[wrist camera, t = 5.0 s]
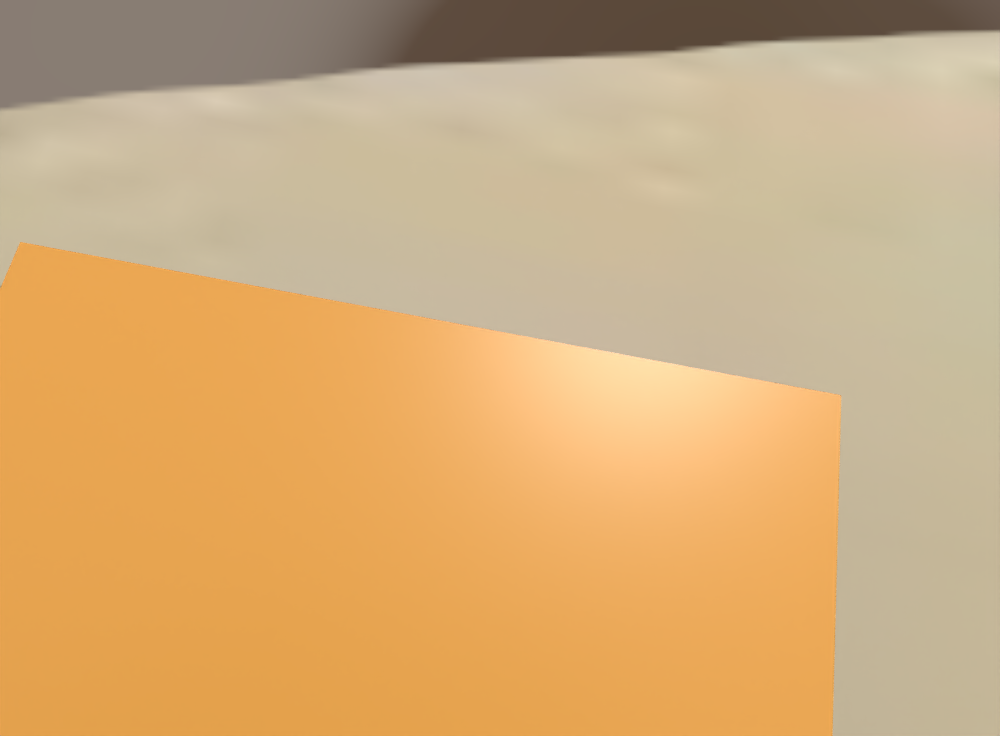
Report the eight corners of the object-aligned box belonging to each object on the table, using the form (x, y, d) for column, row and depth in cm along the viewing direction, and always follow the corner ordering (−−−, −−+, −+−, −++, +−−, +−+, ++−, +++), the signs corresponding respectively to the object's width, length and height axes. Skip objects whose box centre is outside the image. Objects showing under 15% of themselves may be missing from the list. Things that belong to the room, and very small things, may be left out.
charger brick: (515, 791, 14) (807, 1624, 2) (285, 749, 14) (-478, 1393, 2) (550, 555, 15) (839, 396, 4) (341, 516, 15) (19, 242, 4)
